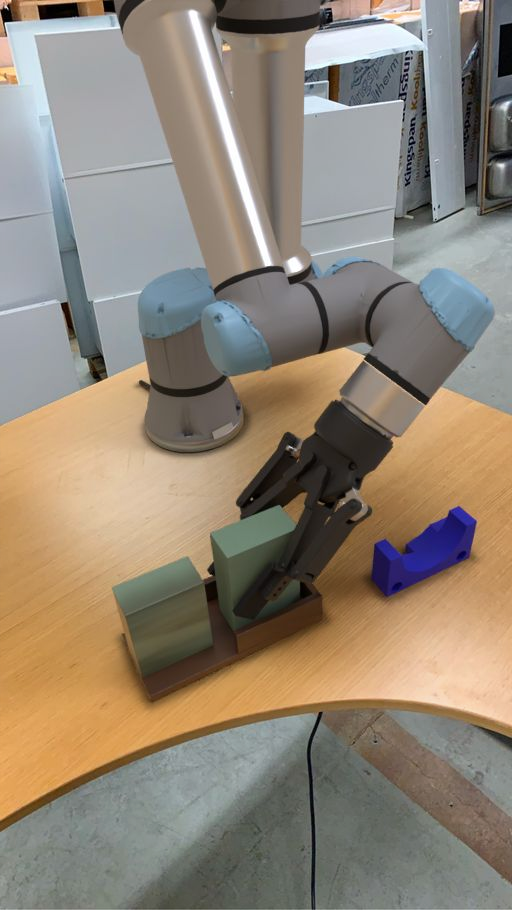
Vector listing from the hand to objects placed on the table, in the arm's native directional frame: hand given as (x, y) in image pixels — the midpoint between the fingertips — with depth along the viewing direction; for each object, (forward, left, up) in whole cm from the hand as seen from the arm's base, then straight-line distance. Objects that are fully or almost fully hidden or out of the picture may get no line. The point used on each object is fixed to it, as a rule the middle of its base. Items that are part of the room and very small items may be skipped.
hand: (229, 593), depth 69 cm
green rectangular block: (+1, +3, -4) cm, 5 cm away
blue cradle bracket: (+9, +21, -5) cm, 24 cm away
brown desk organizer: (0, -1, -5) cm, 5 cm away
